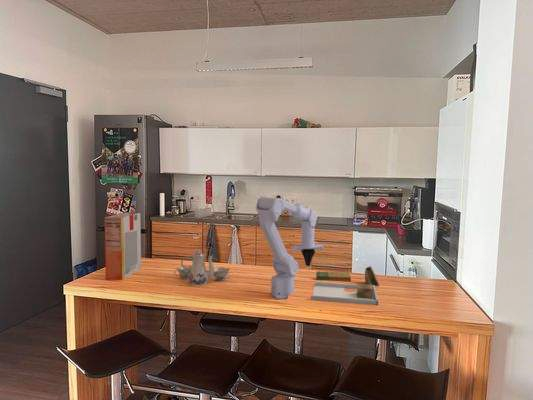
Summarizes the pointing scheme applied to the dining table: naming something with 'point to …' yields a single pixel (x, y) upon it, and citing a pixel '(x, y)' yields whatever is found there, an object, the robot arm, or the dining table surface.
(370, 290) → the walnut block
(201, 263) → the chinaware
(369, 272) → the rock
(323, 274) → the carton
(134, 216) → the pasta box
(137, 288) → the dining table surface
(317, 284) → the trap tray
